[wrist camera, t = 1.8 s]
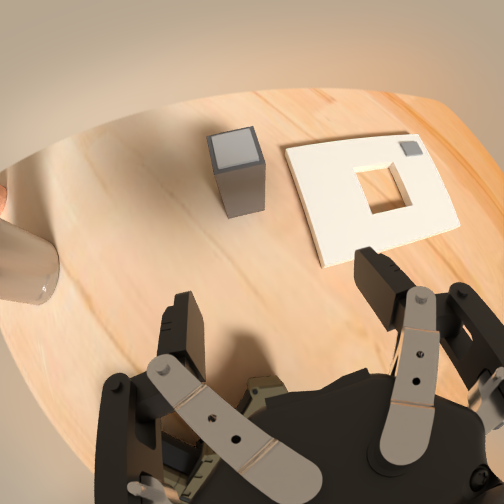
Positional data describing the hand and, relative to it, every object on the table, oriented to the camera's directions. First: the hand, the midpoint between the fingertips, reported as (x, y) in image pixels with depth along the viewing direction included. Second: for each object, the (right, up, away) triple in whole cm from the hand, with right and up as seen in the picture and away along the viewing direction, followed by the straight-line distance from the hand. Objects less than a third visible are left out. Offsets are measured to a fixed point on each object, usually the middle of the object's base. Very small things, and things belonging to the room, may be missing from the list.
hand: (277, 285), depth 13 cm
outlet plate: (+14, +9, +17) cm, 24 cm away
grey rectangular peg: (-2, +7, +17) cm, 19 cm away
